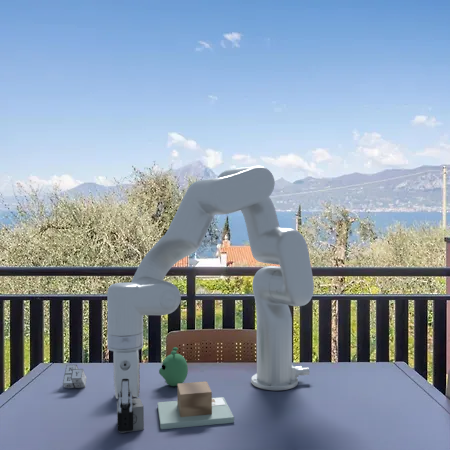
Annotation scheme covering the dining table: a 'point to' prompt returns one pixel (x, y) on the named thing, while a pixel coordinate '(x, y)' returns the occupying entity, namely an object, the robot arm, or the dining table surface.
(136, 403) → the dice cube
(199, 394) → the base brick
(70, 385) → the building blocks
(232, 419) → the build board
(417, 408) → the dining table surface
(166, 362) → the alien toy
